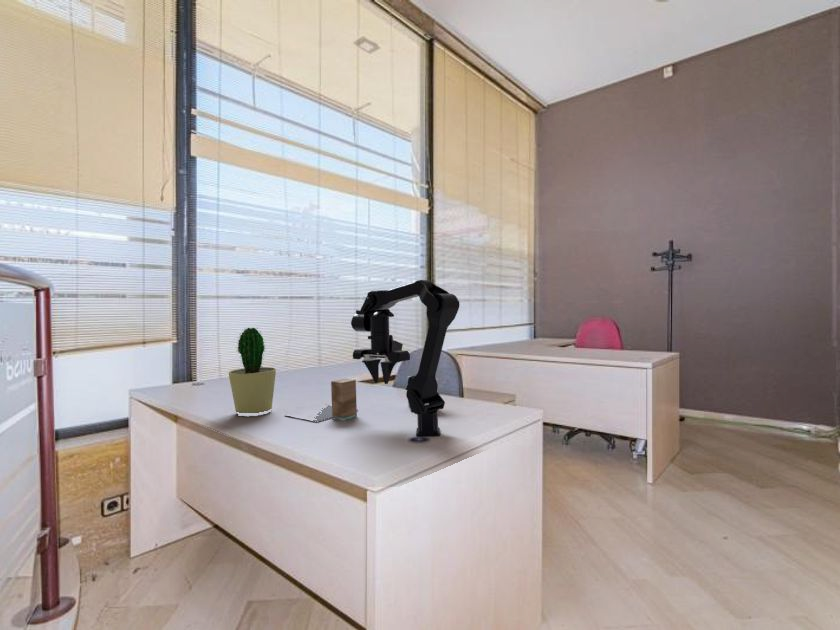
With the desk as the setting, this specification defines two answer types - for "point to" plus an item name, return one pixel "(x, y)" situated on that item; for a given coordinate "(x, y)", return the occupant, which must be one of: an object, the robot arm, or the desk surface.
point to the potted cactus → (252, 376)
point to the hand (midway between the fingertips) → (381, 383)
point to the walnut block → (343, 399)
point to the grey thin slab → (324, 414)
